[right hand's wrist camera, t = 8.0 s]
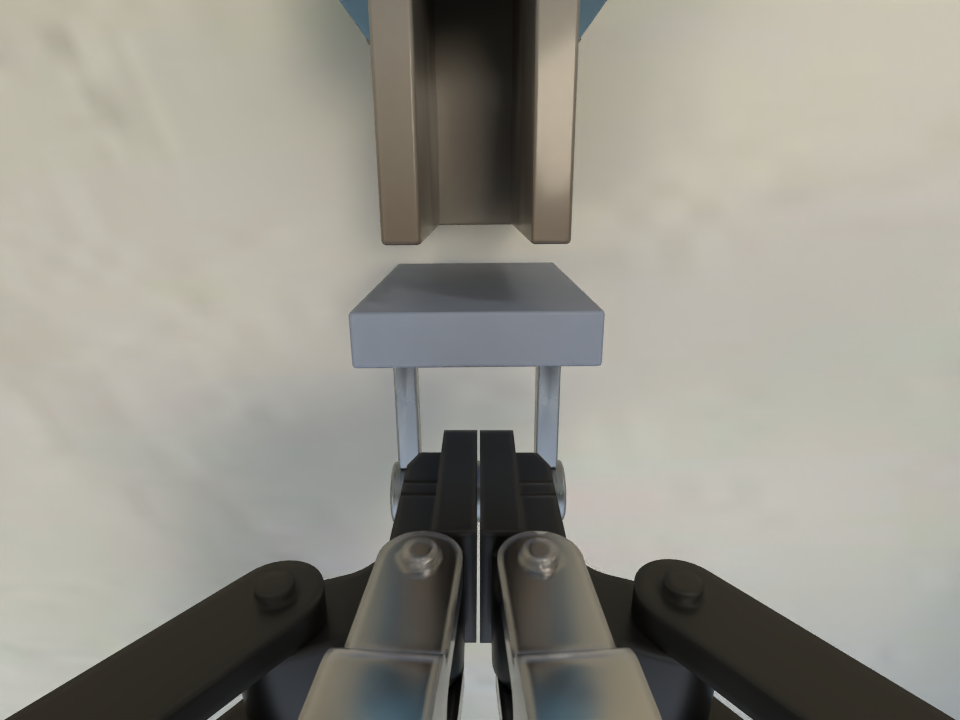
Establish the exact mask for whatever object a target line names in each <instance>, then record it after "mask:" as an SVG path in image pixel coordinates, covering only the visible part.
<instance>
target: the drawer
mask: <svg viewBox="0 0 960 720" xmlns="http://www.w3.org/2000/svg"><path fill="white" fill-rule="evenodd" d="M368 11H369V29H370V47H371V64H372V82H373V100H374V117H375V135H376V152H377V170H378V188H379V205H380V223H381V241H382V243H383V244H384V245H418V244H420V243H421V242H422V241H423V240H424V239H425V238H426V237H427V236H428V235H429V234H430V233H431V232H432V231H433V230H434V229H435V228H436V227H437V226H438V225H490V224H513V225H514V226H515V227H516V228H517V229H518V230H519V231H520V232H521V233H522V234H523V235H524V236H525V237H526V238H527V239H528V240H529V241H530V242H532V243H533V244H568V243H570V241H571V221H572V195H573V169H574V144H575V118H576V92H577V67H578V41H579V16H580V0H368ZM604 315H605V313H604V311H603V310H602V309H601V308H600V307H599V306H598V305H597V304H596V303H595V302H594V301H593V300H592V299H590V298H589V297H588V296H587V295H586V294H585V293H584V292H583V291H582V290H581V289H580V288H579V287H578V286H577V285H576V284H575V283H574V282H573V281H572V280H570V279H569V278H568V277H567V276H566V275H565V274H564V273H563V272H562V271H561V270H560V269H559V268H558V267H557V266H556V265H555V264H554V263H458V264H399V265H397V266H396V267H395V268H394V269H393V270H392V271H391V272H390V273H389V274H388V275H387V276H386V277H385V278H384V279H383V280H382V281H381V282H380V283H379V284H378V285H377V286H376V287H375V288H374V289H373V290H372V291H371V292H370V293H369V294H368V295H367V296H366V297H365V298H364V299H363V300H362V301H361V302H360V303H359V304H358V305H357V306H356V307H355V308H354V309H353V310H352V311H351V312H350V314H349V325H350V338H351V351H352V365H353V367H354V368H393V369H394V387H395V406H396V424H397V443H398V461H399V462H395V464H394V466H393V469H392V475H391V488H390V505H391V515H392V519H393V521H394V519H395V515H396V511H397V506H398V502H399V498H400V495H401V489H402V485H403V483H404V476H405V472H406V467H407V465H408V464H409V463H410V462H411V461H412V460H413V459H414V458H415V457H416V456H417V455H418V454H419V453H422V449H421V425H420V400H419V376H418V368H421V367H526V366H536V381H535V424H534V453H538V454H539V455H540V456H541V457H542V458H543V459H544V460H545V461H546V462H547V463H548V464H549V465H550V468H551V472H552V477H553V483H554V486H555V490H556V496H557V499H558V504H559V508H560V513H561V517H562V520H563V519H564V516H565V511H566V483H565V474H564V468H563V465H562V462H561V461H560V460H557V454H558V427H559V399H560V371H561V366H599V365H601V363H602V349H603V332H604ZM477 522H480V461H477Z"/></svg>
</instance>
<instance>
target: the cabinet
mask: <svg viewBox="0 0 960 720" xmlns="http://www.w3.org/2000/svg"><path fill="white" fill-rule="evenodd" d="M339 1H340V2H341V4H342V5H343V6H344V8H345V9H346V11H347V12H348V13H349V15H350V16H351V18H352V19H353V20H354V22H355V23H356V24H357V26H358V27H359V29H360V30H361V31H362V33H363V34H364V36H365V37H366V38H367V42H368V43H369V45H370V29H369V11H368V0H339ZM606 1H607V0H580V16H579V41H580V40H581V36H582V35H583V33H584V32H585V31H586V29H587V28H588V26H589V25H590V24H591V22H592V21H593V19H594V18H595V16H596V15H597V14H598V12H599V11H600V9H601V8H602V6H603V5H604V4H605V2H606ZM579 41H578V43H579Z"/></svg>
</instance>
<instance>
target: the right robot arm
mask: <svg viewBox="0 0 960 720" xmlns="http://www.w3.org/2000/svg"><path fill="white" fill-rule="evenodd" d="M476 613H477V430H444V435H443V443H442V451H441V453H419V454H418V455H417V456H416V457H415V458H414V459H413V460H412V461H411V462H410V463H409V464H408V465H407V467H406V472H405V476H404V483H403V485H402V489H401V495H400V498H399V502H398V506H397V511H396V515H395V519H394V524H393V528H392V532H391V536H390V541H389V542H387V543H386V544H385V545H384V546H383V547H382V549H381V550H380V551H379V553H378V555H377V558H376V561H375V562H374V563H372V564H371V565H369V566H368V567H366V568H364V569H362V570H360V571H357V572H355V573H351V574H348V575H344V576H340V577H336V578H332V579H327V580H323V577H322V575H321V573H320V572H319V570H317V569H316V568H315V567H314V566H312V565H310V564H308V563H305V562H301V561H290V560H288V561H279V562H274V563H270V564H267V565H264V566H261V567H259V568H257V569H255V570H253V571H251V572H249V573H247V574H246V575H244V576H243V577H241V578H239V579H238V580H236V581H234V582H233V583H231V584H229V585H228V586H226V587H224V588H223V589H221V590H219V591H218V592H216V593H214V594H213V595H211V596H209V597H208V598H206V599H204V600H203V601H201V602H199V603H198V604H196V605H194V606H193V607H191V608H189V609H188V610H186V611H184V612H183V613H181V614H179V615H178V616H176V617H174V618H173V619H171V620H169V621H168V622H166V623H164V624H163V625H161V626H159V627H158V628H156V629H154V630H153V631H151V632H150V633H148V634H146V635H145V636H143V637H141V638H140V639H138V640H136V641H135V642H133V643H131V644H130V645H128V646H126V647H125V648H123V649H121V650H120V651H118V652H116V653H115V654H113V655H111V656H110V657H108V658H106V659H105V660H103V661H101V662H100V663H98V664H96V665H95V666H93V667H91V668H90V669H88V670H86V671H85V672H83V673H81V674H80V675H78V676H76V677H75V678H73V679H71V680H70V681H68V682H66V683H65V684H63V685H61V686H60V687H58V688H56V689H55V690H53V691H52V692H50V693H48V694H47V695H45V696H43V697H42V698H40V699H38V700H37V701H35V702H33V703H32V704H30V705H28V706H27V707H25V708H23V709H22V710H20V711H18V712H17V713H15V714H13V715H12V716H10V717H8V718H7V719H5V720H207V719H208V718H210V717H211V716H212V715H214V714H215V713H216V712H217V711H219V710H220V709H221V708H223V707H224V706H225V705H227V704H228V703H229V702H231V701H232V700H233V699H234V698H236V697H237V696H238V695H240V694H241V693H242V695H243V699H242V700H241V701H240V702H238V703H237V704H236V705H235V706H233V707H232V708H231V709H229V710H228V711H227V712H226V713H224V714H223V715H222V716H220V717H219V718H218V719H217V720H460V719H461V711H462V702H463V693H464V645H465V643H476ZM480 643H492V664H493V669H494V672H495V674H496V693H497V702H498V711H499V719H500V720H743V719H742V718H741V717H740V716H738V715H737V714H736V713H734V712H733V711H732V710H731V709H729V708H728V707H727V706H725V705H724V704H723V703H722V702H720V701H719V700H718V699H716V698H715V697H714V696H713V694H714V690H715V691H716V692H718V693H719V694H720V695H722V696H723V697H724V698H726V699H727V700H728V701H729V702H731V703H732V704H733V705H735V706H736V707H737V708H739V709H740V710H741V711H743V712H744V713H745V714H746V715H748V716H749V717H750V718H752V719H753V720H955V719H953V718H952V717H950V716H948V715H947V714H945V713H943V712H942V711H940V710H938V709H937V708H935V707H933V706H932V705H930V704H928V703H927V702H925V701H923V700H922V699H920V698H918V697H917V696H915V695H913V694H912V693H910V692H908V691H907V690H905V689H903V688H902V687H900V686H899V685H897V684H895V683H894V682H892V681H890V680H889V679H887V678H885V677H884V676H882V675H880V674H879V673H877V672H875V671H874V670H872V669H870V668H869V667H867V666H865V665H864V664H862V663H860V662H859V661H857V660H855V659H854V658H852V657H850V656H849V655H847V654H845V653H844V652H842V651H840V650H839V649H837V648H835V647H834V646H832V645H830V644H829V643H827V642H825V641H824V640H822V639H820V638H819V637H817V636H815V635H814V634H812V633H810V632H809V631H807V630H805V629H804V628H802V627H801V626H799V625H797V624H796V623H794V622H792V621H791V620H789V619H787V618H786V617H784V616H782V615H781V614H779V613H777V612H776V611H774V610H772V609H771V608H769V607H767V606H766V605H764V604H762V603H761V602H759V601H757V600H756V599H754V598H752V597H751V596H749V595H747V594H746V593H744V592H742V591H741V590H739V589H737V588H736V587H734V586H732V585H731V584H729V583H727V582H726V581H724V580H722V579H721V578H719V577H717V576H716V575H714V574H712V573H711V572H709V571H707V570H706V569H704V568H702V567H700V566H697V565H695V564H692V563H689V562H686V561H681V560H673V559H662V560H656V561H652V562H649V563H647V564H645V565H644V566H642V567H641V568H640V569H639V570H638V572H637V573H636V576H635V579H634V581H632V580H628V579H623V578H619V577H615V576H611V575H607V574H604V573H601V572H598V571H596V570H594V569H592V568H590V567H588V566H586V564H585V561H584V558H583V555H582V553H581V551H580V550H579V549H578V547H577V546H576V545H575V544H574V543H573V542H571V541H570V540H568V539H567V538H566V535H565V531H564V526H563V522H562V517H561V513H560V508H559V504H558V499H557V496H556V490H555V486H554V483H553V477H552V472H551V468H550V465H549V464H548V463H547V462H546V461H545V460H544V459H543V458H542V457H541V456H540V455H539V454H538V453H516V452H515V443H514V435H513V430H480Z"/></svg>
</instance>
